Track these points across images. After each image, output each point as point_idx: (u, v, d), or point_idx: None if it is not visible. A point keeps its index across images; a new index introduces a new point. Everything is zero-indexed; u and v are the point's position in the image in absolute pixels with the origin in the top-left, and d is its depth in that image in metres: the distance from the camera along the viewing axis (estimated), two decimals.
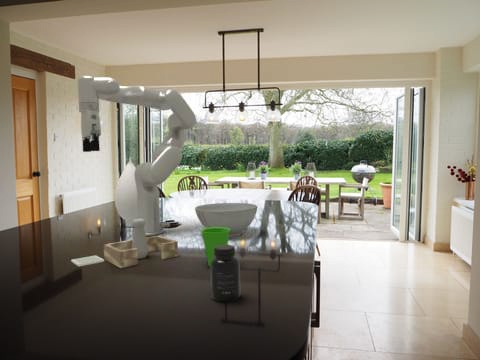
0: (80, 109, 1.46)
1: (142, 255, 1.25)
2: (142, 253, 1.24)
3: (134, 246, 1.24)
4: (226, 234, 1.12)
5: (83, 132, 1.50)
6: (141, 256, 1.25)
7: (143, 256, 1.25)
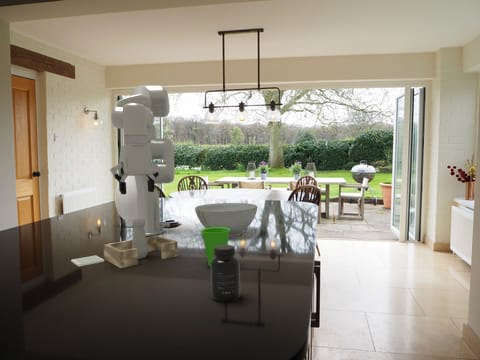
0: (142, 143, 1.22)
1: (142, 255, 1.25)
2: (142, 253, 1.24)
3: (134, 246, 1.24)
4: (226, 234, 1.12)
5: (135, 170, 1.22)
6: (141, 256, 1.25)
7: (143, 256, 1.25)
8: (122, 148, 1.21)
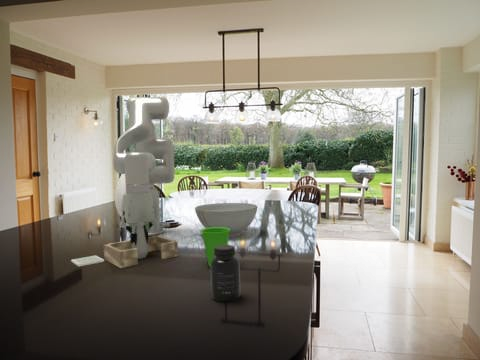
0: (144, 192, 1.23)
1: (142, 255, 1.25)
2: (142, 253, 1.24)
3: (134, 246, 1.24)
4: (226, 234, 1.12)
5: (137, 219, 1.23)
6: (141, 256, 1.25)
7: (143, 256, 1.25)
8: (124, 197, 1.22)
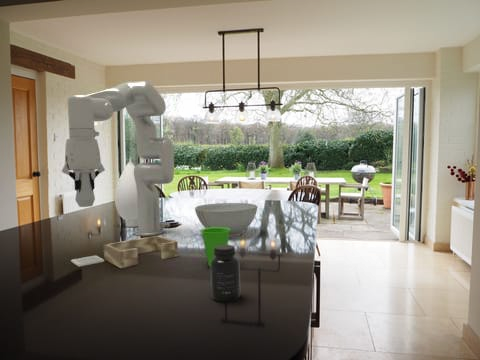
0: (88, 136, 1.18)
1: (87, 203, 1.19)
2: (87, 201, 1.19)
3: (78, 193, 1.19)
4: (226, 234, 1.12)
5: (81, 164, 1.18)
6: (86, 204, 1.19)
7: (88, 204, 1.20)
8: (67, 142, 1.17)
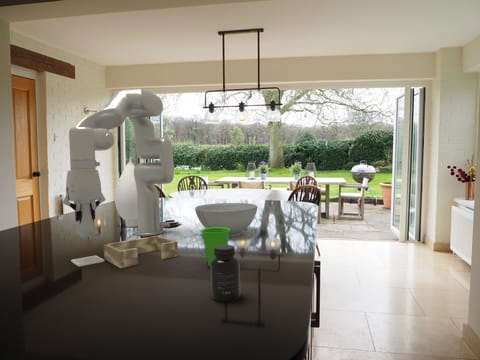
0: (89, 168, 1.18)
1: (88, 233, 1.20)
2: (87, 232, 1.19)
3: (79, 224, 1.19)
4: (226, 234, 1.12)
5: (82, 196, 1.19)
6: (86, 235, 1.20)
7: (89, 235, 1.20)
8: (68, 173, 1.18)
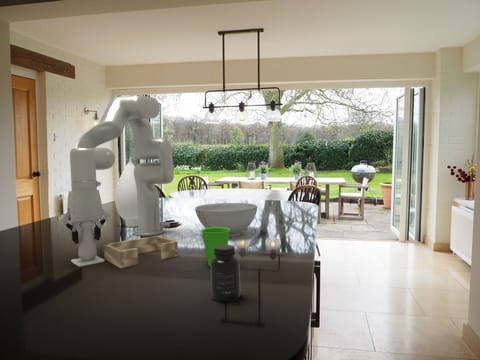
0: (90, 189, 1.19)
1: (89, 257, 1.20)
2: (89, 255, 1.20)
3: (81, 248, 1.20)
4: (226, 234, 1.12)
5: (83, 216, 1.19)
6: (88, 258, 1.20)
7: (90, 258, 1.21)
8: (69, 194, 1.18)
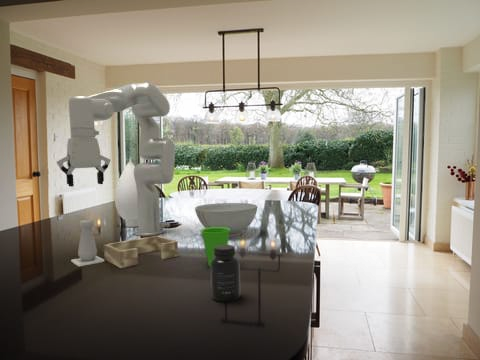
0: (89, 136, 1.23)
1: (89, 257, 1.20)
2: (89, 255, 1.20)
3: (81, 248, 1.20)
4: (226, 234, 1.12)
5: (82, 162, 1.24)
6: (88, 258, 1.20)
7: (90, 258, 1.21)
8: (69, 141, 1.23)
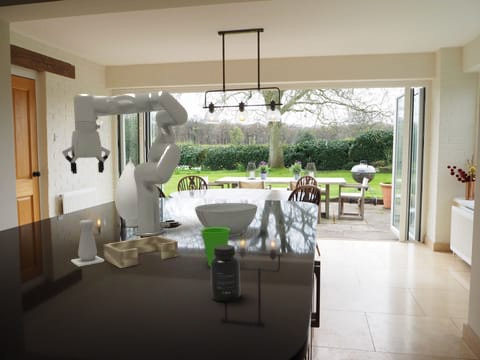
0: (91, 129, 1.39)
1: (89, 257, 1.20)
2: (89, 255, 1.20)
3: (81, 248, 1.20)
4: (226, 234, 1.12)
5: (85, 152, 1.39)
6: (88, 258, 1.20)
7: (90, 258, 1.21)
8: (73, 133, 1.38)
